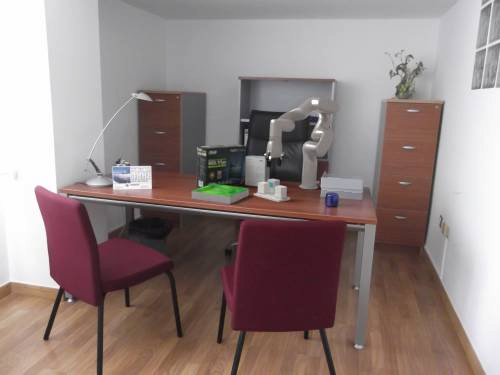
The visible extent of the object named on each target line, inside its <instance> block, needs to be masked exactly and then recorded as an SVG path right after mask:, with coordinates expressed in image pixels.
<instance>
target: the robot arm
mask: <svg viewBox="0 0 500 375" xmlns="http://www.w3.org/2000/svg"><path fill="white" fill-rule="evenodd" d="M340 108H341V107H340V103H338V102H337V101H335V100H332V99H330V98H325V97H319V96H312V97H310V98H309V97H308V99H307V100H305V101H304V102H303V103H302V104H300V105H299V106H298V107H295V108H294V109H292V110H289V111H287V112H285V113H284V114H282V115H280V117H278V118H277V119H275V118H274V119H271V120H270V124H269V137H268V140H269V141H268V142H267V145H266V146H267V147H266V152H265V153H264V154H263V157H265V159H266V161H267V164H266V167H270V168H271V167H272V161H271V160H272V159H275V158H276V159H277V161H276V166H277V167H282V161H283V158H284V156H285V152H284V151H283V142H282V135H283V132H288V133H289V132H290V133H291V132H292V131H293V130H295V127H296V124H295V122H296V121H302V120H305V119H307V117H308V116H309V117H310V115H311V114H313V113H314V112H317V114H318V120H317V122H316V124H315V126H314V128H313V130H312V132H311V136H310V137H311V139H312V141H311V140H307V141H306V142H304V143H303V145H302V148H301V149H302V172H301V184H300V185H299V186H298V188H301V189H303V190H317V189H318V188H319V187H318V185H319V184H320V183H321V182H320V180H317V170H318V158H323V157H324V156H326V154H327V152H328V150H329V149H330V147H331V144H332V142H333V141H334V139H335V138H334V137H335V135H334V134H335V133H334V131H333V129H331V128H330V125H331V117H330V115H336V114H338V113H339V111H340Z"/></svg>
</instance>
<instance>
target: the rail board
mask: <svg viewBox="0 0 500 375" xmlns="http://www.w3.org/2000/svg"><path fill="white" fill-rule="evenodd" d="M269 186H270V183H268V182H258V186H257V192H256V193H253V197H258V198H263V199H265V200H269V201H273V202H278V203H281V202H285V201H291V197H289V196H287V194H288V193H287V192H288V190H287V189H288V187H287V186H285V185H281V184H280V186H275V193H270V192H269Z"/></svg>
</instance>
